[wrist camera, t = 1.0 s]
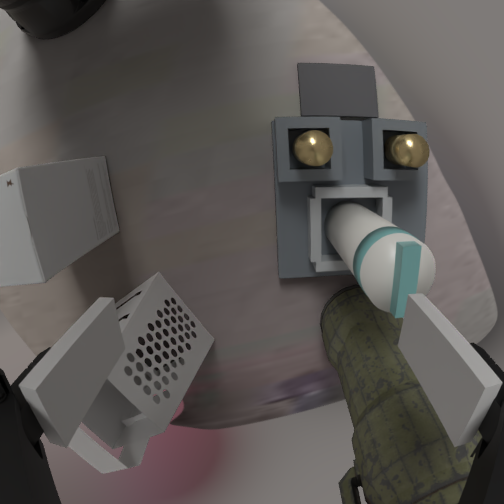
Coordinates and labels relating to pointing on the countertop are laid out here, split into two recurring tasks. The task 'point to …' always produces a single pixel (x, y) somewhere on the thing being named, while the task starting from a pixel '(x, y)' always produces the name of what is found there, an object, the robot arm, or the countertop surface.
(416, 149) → the plunger
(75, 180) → the supplement box
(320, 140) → the plunger
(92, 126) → the countertop surface
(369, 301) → the thermos
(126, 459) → the grater
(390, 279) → the cartridge
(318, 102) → the mat
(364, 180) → the housing
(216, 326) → the countertop surface
